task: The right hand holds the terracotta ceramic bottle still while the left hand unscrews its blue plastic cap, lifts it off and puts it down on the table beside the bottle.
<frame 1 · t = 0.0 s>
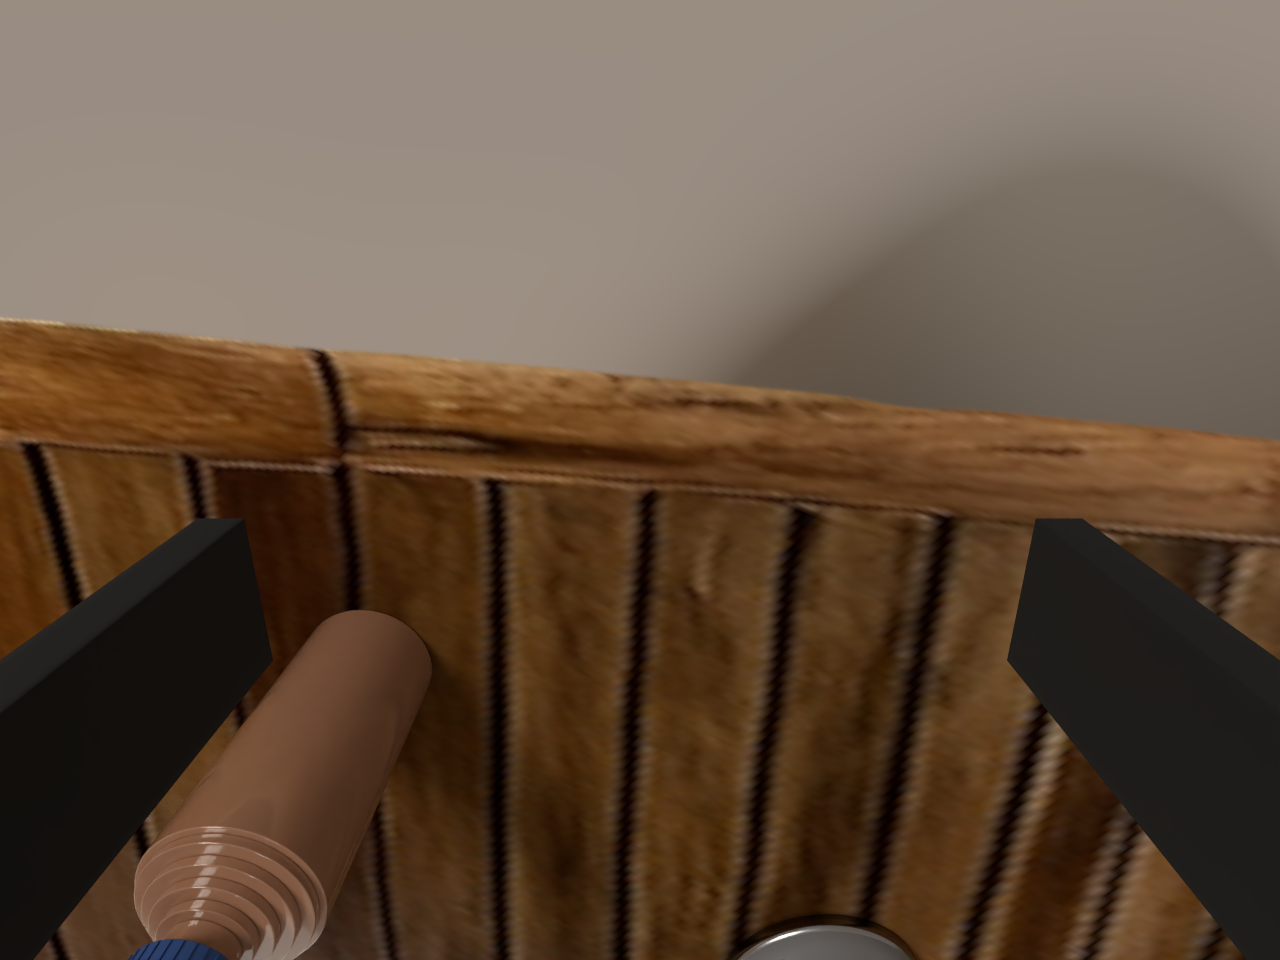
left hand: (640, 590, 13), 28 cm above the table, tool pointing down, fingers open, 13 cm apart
bottle: (369, 664, 46), on the table
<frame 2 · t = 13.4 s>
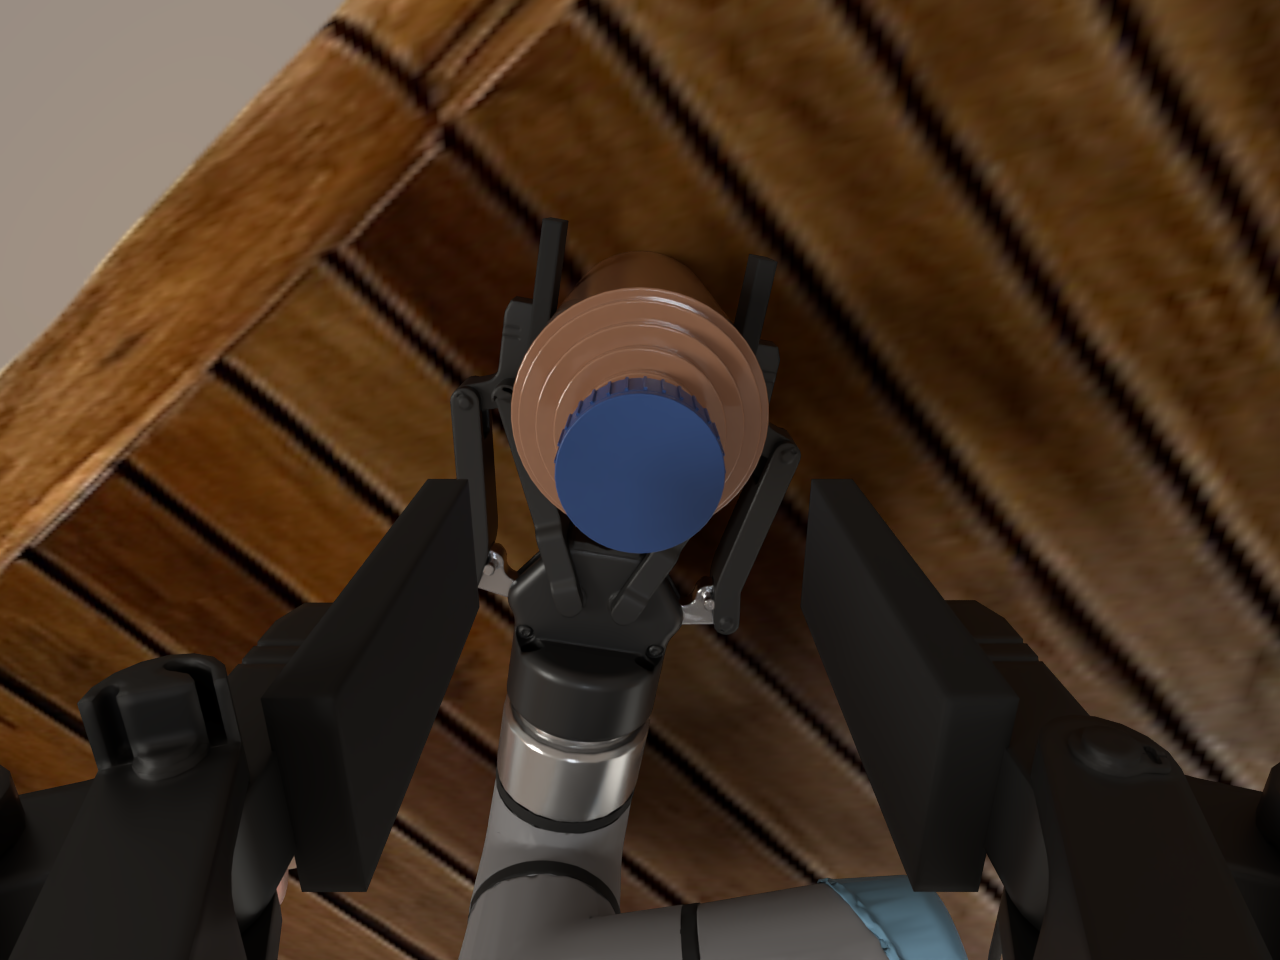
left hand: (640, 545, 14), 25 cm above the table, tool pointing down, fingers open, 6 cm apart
right hand: (660, 239, 30), fingers closed on bottle, 8 cm apart
bottle: (639, 330, 38), on the table, touching right hand
cap: (639, 472, 18), point 21 cm above the table, screwed on, not yet turned
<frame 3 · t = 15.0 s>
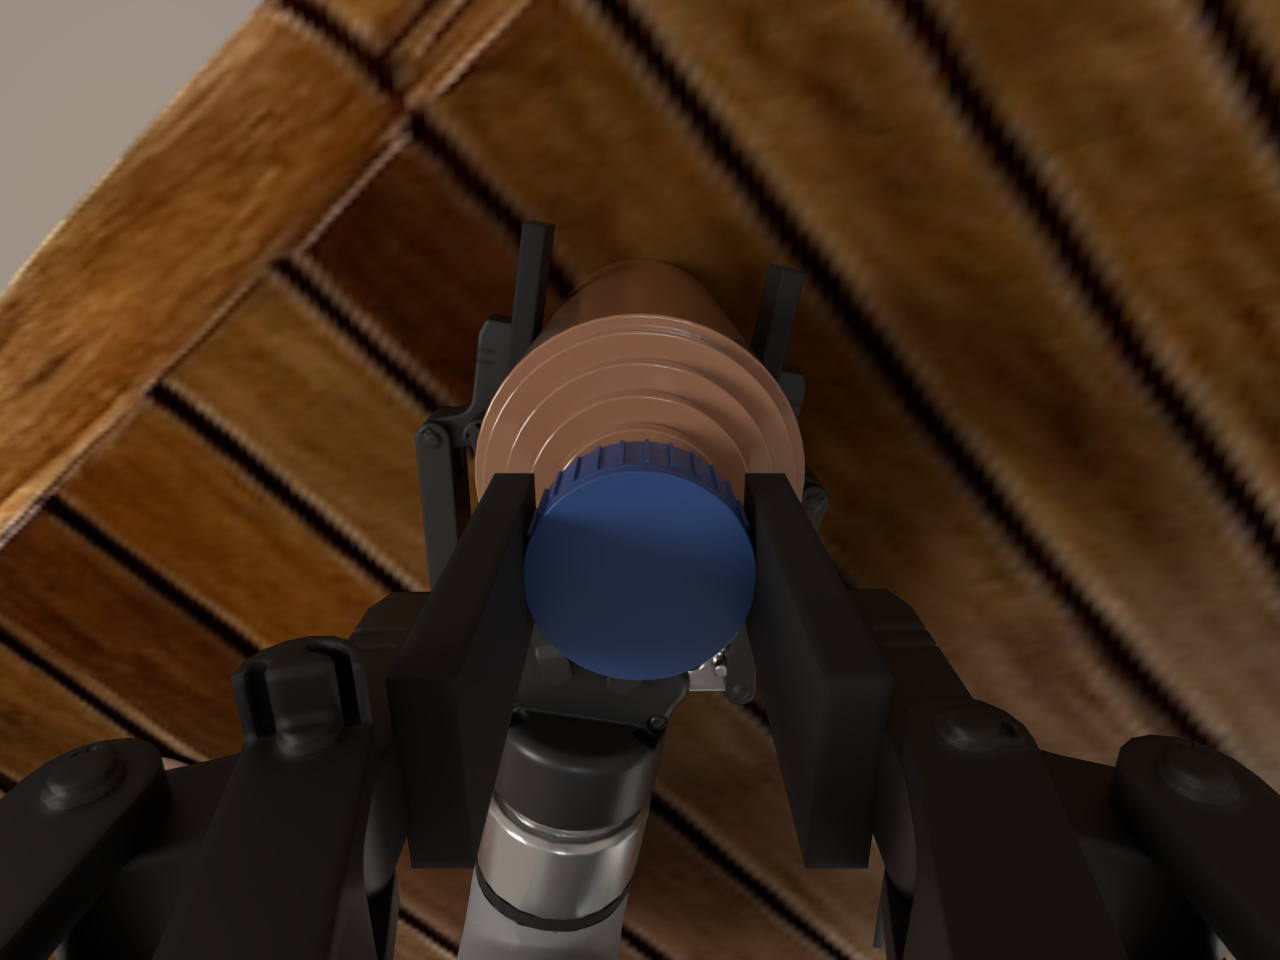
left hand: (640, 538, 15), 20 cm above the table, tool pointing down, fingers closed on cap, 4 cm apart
bottle: (639, 349, 33), on the table, touching right hand
cap: (639, 573, 13), point 21 cm above the table, screwed on, not yet turned, touching left hand
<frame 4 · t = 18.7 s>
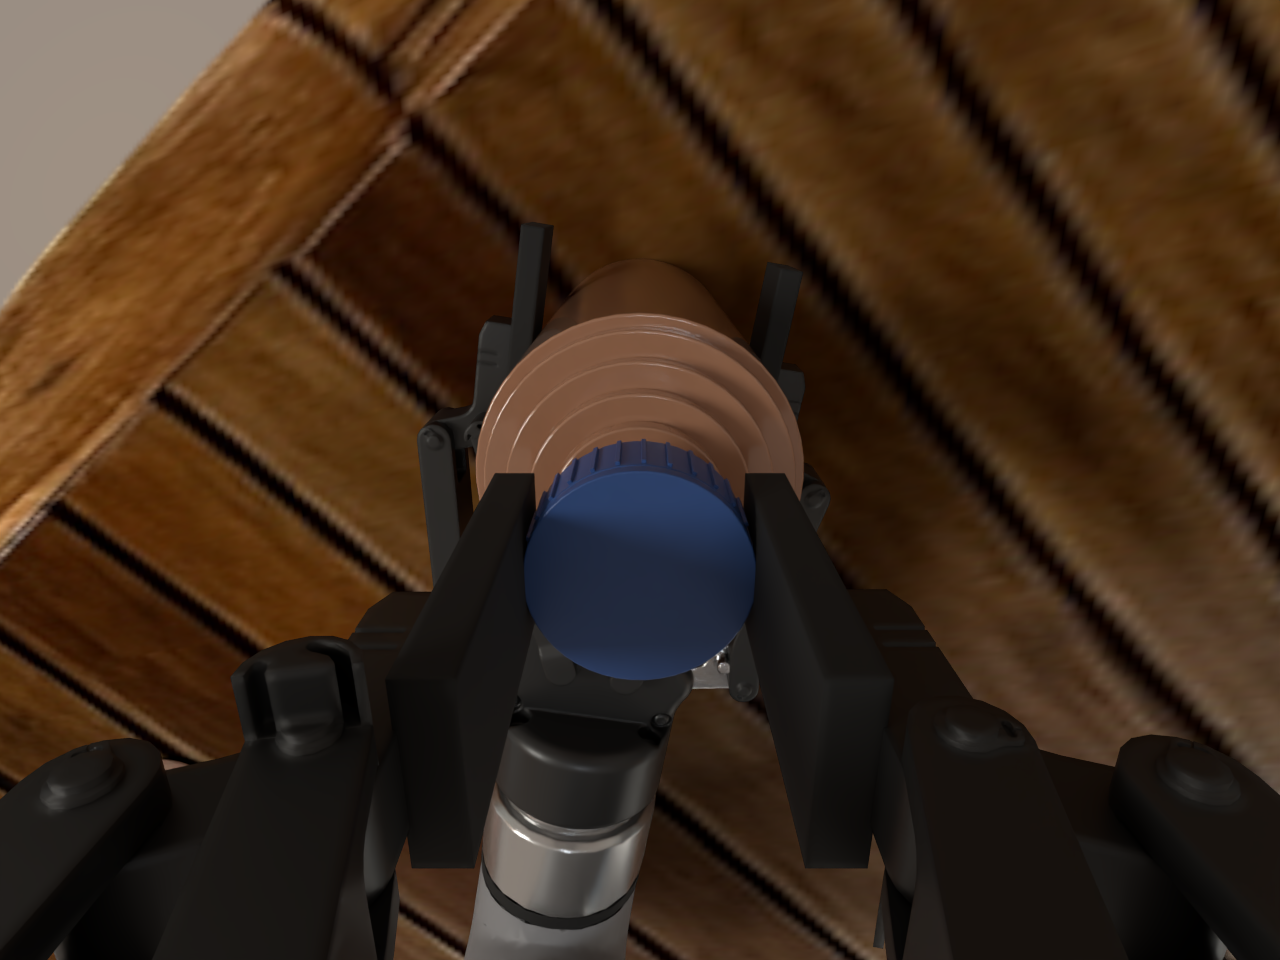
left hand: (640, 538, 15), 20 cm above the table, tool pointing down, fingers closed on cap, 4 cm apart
bottle: (639, 349, 33), on the table, touching right hand
cap: (639, 573, 13), point 21 cm above the table, turned 138° so far, risen 0.1 cm, still on its thread, touching left hand
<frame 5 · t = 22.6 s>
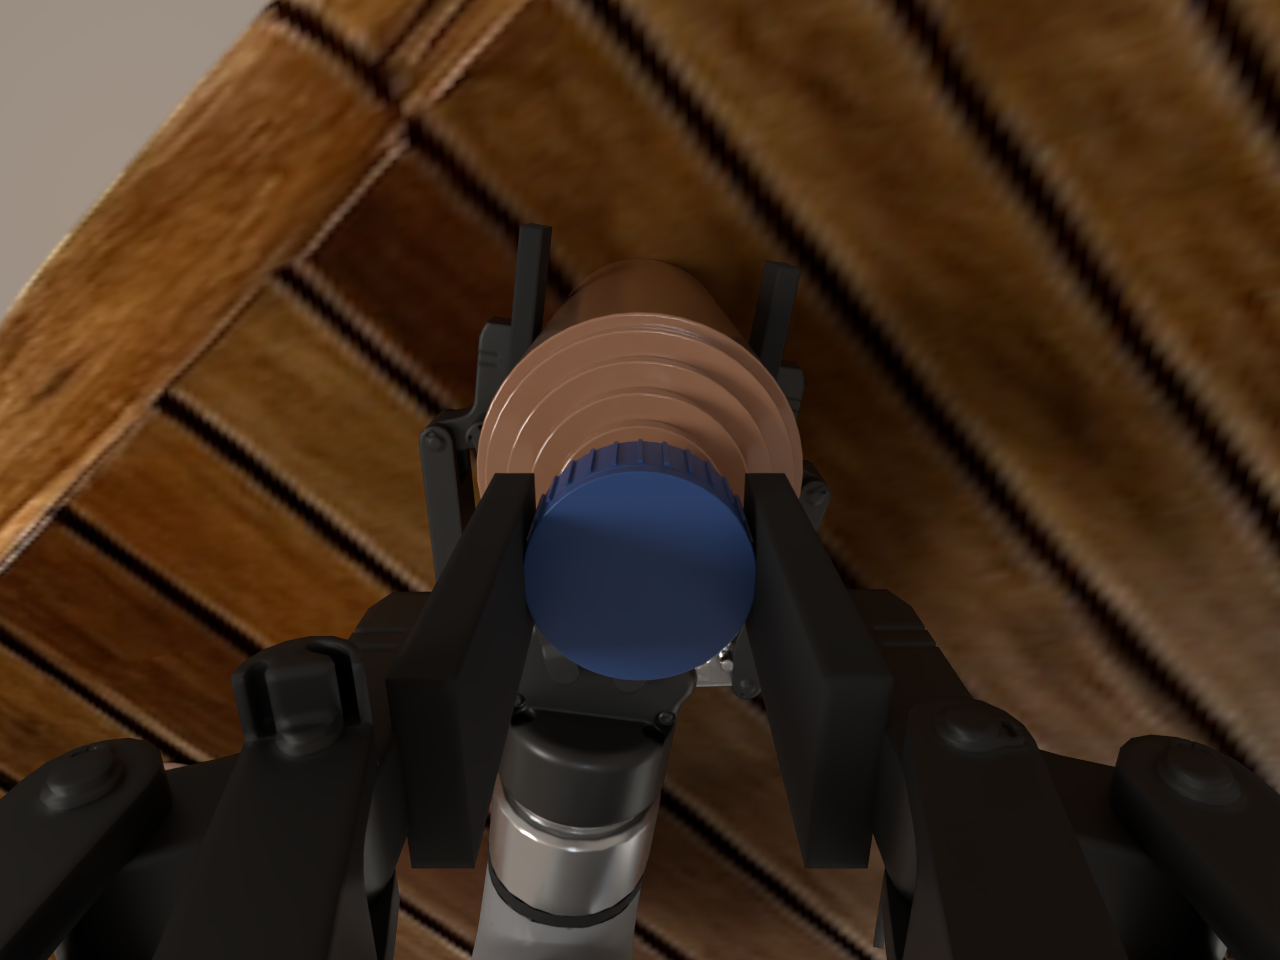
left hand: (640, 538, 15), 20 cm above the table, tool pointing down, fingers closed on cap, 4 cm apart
bottle: (639, 349, 33), on the table, touching right hand
cap: (639, 573, 13), point 21 cm above the table, turned 275° so far, risen 0.2 cm, still on its thread, touching left hand
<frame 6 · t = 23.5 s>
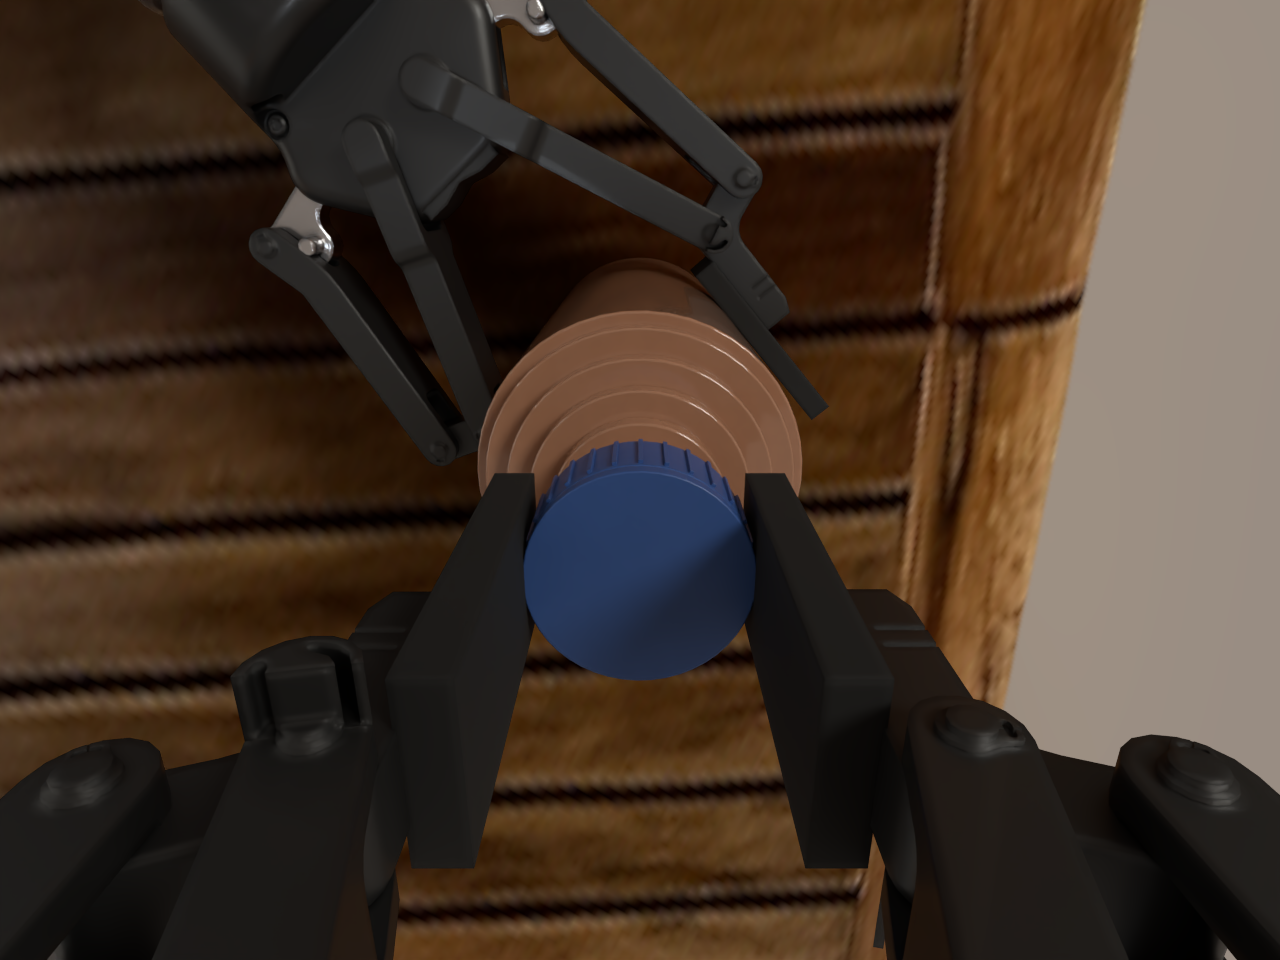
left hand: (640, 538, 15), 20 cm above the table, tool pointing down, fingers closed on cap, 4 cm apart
right hand: (721, 473, 29), fingers closed on bottle, 8 cm apart
bottle: (639, 348, 33), on the table, touching right hand
cap: (639, 573, 13), point 22 cm above the table, off its thread, touching left hand
when the left hand's fingers open (1 cm above the table, at t = 29.5 s): cap drops 1 cm, point 1 cm above the table.
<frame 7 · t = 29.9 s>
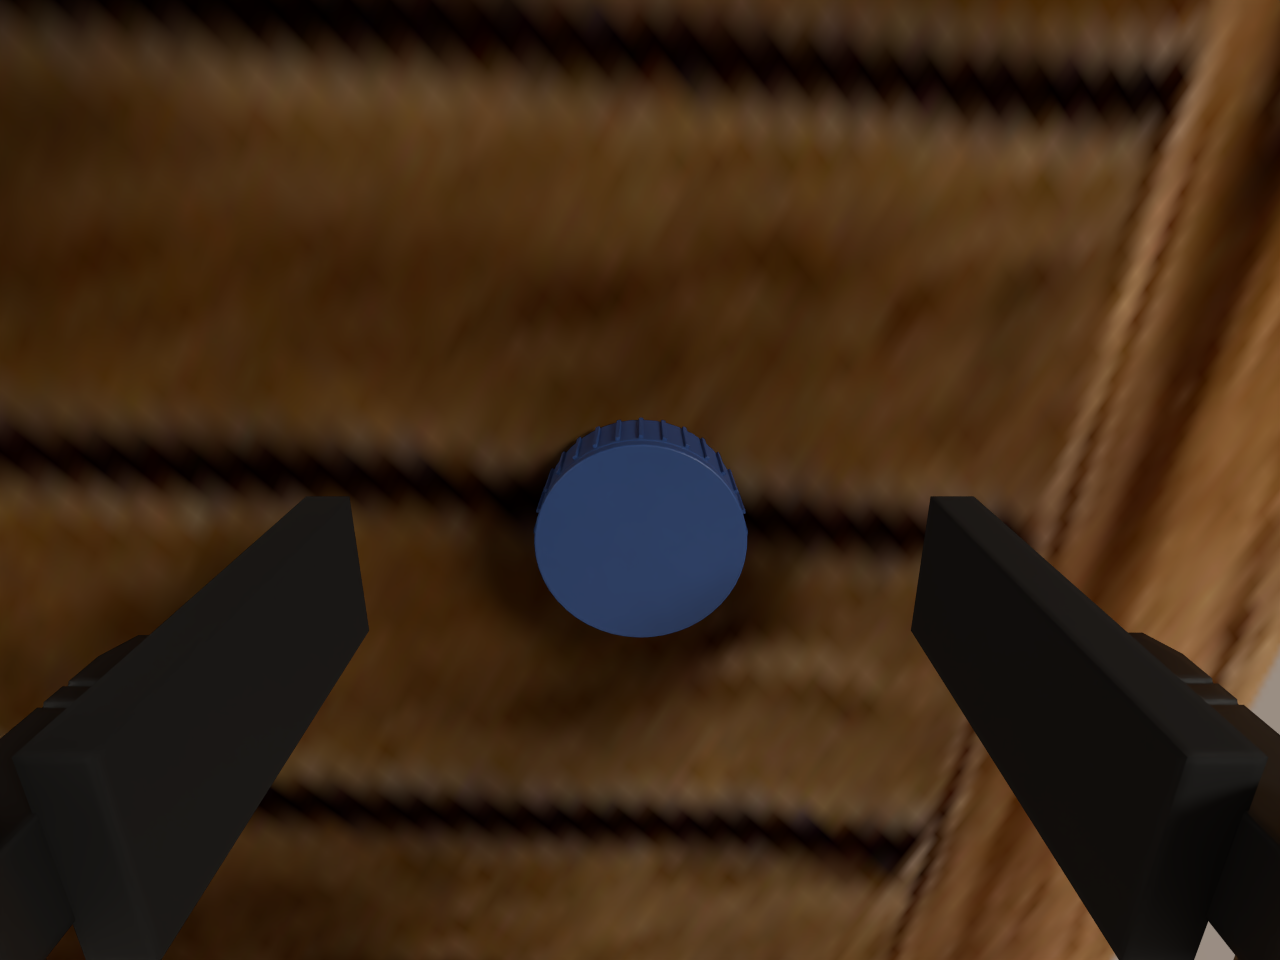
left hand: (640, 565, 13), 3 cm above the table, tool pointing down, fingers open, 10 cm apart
cap: (640, 539, 15), point 1 cm above the table, off its thread
when the right hand's fingers open (7 cm above the table, at t = 30.8 s): bottle stays where it is, on the table.
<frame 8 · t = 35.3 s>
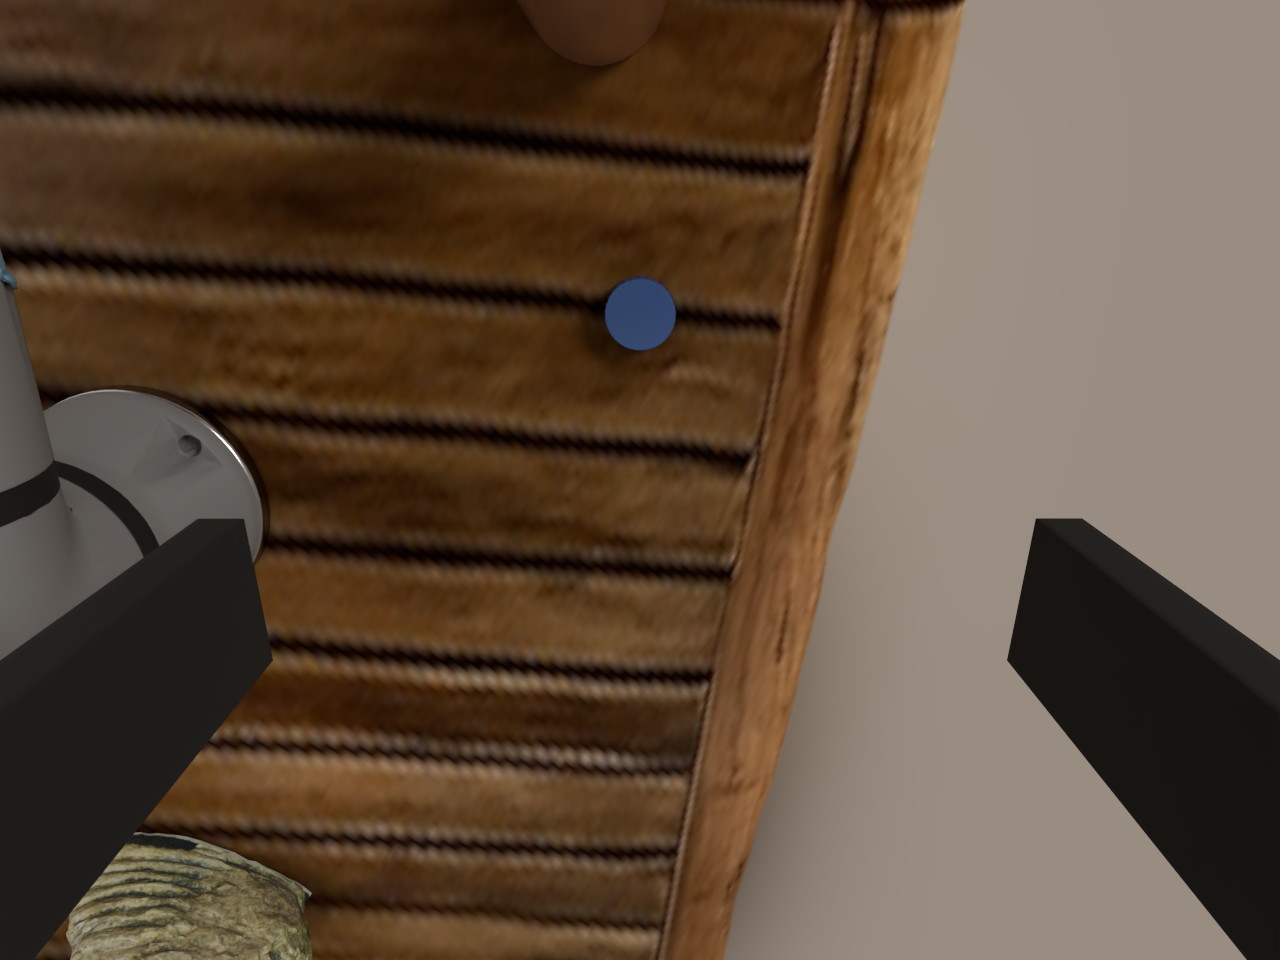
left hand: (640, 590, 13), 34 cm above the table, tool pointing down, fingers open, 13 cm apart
fossil: (222, 877, 61), on the table
cap: (640, 314, 43), point 1 cm above the table, off its thread
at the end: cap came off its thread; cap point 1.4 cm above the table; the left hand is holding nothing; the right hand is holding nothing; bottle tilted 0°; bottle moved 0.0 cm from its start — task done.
